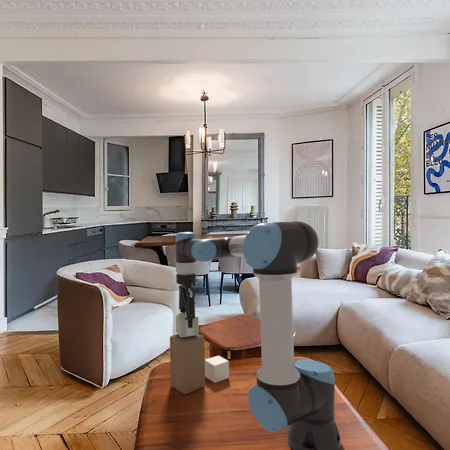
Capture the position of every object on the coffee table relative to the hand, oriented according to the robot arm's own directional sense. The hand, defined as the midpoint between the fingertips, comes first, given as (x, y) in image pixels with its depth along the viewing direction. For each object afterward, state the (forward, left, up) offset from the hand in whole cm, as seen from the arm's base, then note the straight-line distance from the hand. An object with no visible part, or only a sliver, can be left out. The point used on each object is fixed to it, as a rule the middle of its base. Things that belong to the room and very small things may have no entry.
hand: (187, 332), depth 138 cm
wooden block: (0, 0, -21) cm, 21 cm away
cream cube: (+3, -13, -21) cm, 25 cm away
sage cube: (0, 0, 0) cm, 0 cm away
